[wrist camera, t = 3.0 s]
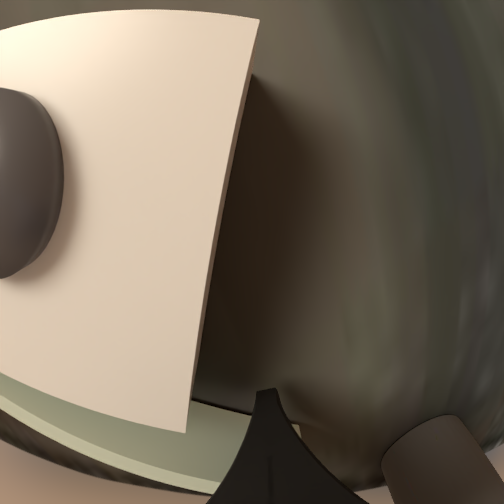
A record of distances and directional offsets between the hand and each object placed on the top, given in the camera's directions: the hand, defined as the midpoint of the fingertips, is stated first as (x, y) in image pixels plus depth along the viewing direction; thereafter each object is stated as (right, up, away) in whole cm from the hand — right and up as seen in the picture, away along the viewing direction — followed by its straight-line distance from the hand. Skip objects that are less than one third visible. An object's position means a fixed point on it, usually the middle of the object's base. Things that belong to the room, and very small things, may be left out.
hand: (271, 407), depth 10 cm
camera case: (-7, +8, -1) cm, 10 cm away
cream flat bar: (-7, 0, +1) cm, 7 cm away
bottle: (+10, -6, +4) cm, 12 cm away
